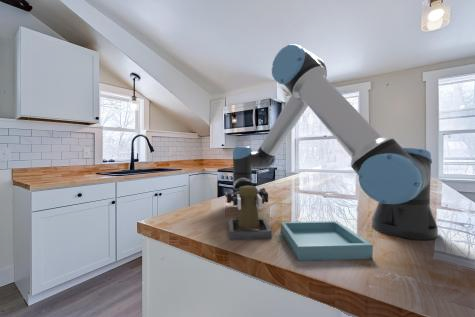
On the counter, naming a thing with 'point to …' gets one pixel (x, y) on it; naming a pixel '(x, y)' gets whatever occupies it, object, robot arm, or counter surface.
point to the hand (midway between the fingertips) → (250, 204)
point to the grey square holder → (250, 231)
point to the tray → (324, 241)
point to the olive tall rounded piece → (248, 207)
